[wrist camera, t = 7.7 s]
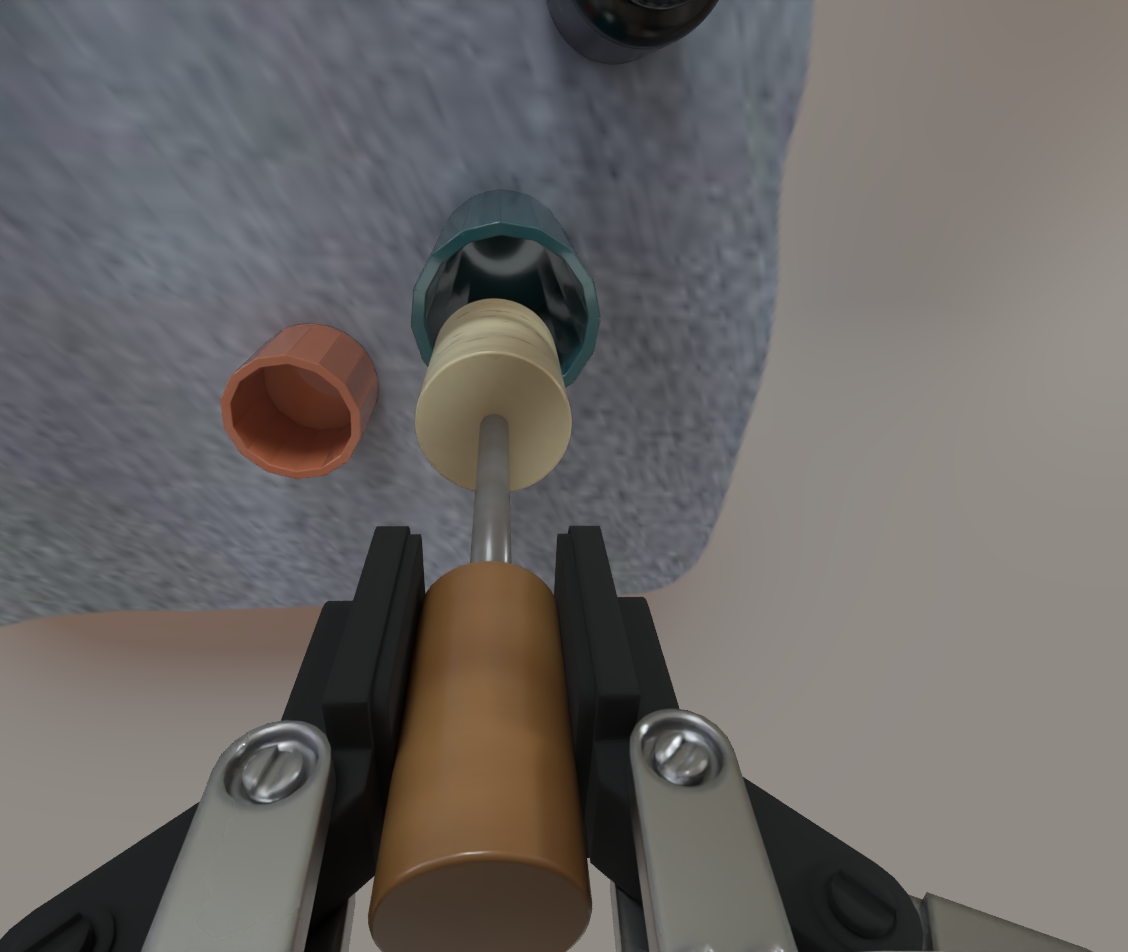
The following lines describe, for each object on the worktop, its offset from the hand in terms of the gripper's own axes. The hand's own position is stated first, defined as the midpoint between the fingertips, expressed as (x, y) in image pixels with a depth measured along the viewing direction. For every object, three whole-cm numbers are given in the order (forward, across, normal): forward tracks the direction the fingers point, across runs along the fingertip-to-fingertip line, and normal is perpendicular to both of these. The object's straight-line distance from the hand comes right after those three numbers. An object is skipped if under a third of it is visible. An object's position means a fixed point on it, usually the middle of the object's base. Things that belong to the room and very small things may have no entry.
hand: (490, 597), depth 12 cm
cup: (+29, 0, -1) cm, 29 cm away
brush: (+14, 0, 0) cm, 14 cm away
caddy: (+29, +11, +7) cm, 32 cm away
